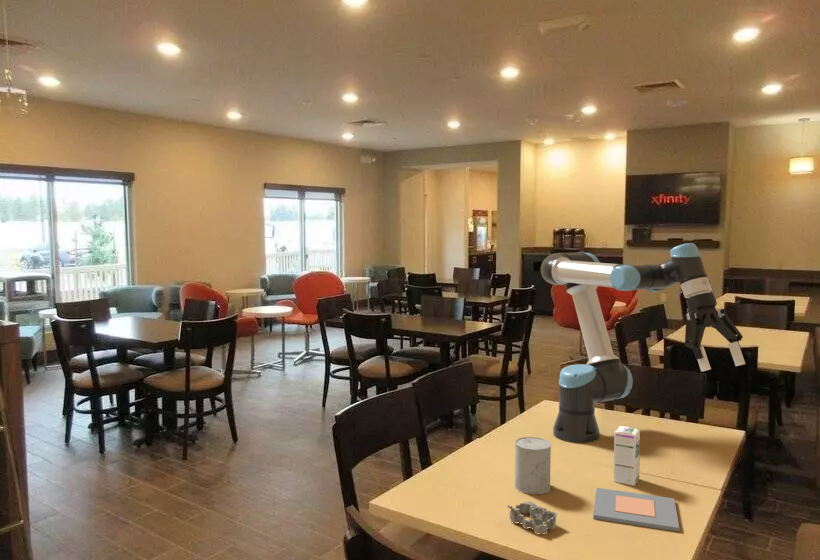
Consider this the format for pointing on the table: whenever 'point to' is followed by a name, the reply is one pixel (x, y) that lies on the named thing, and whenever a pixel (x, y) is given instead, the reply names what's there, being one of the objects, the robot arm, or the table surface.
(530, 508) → the grey irregular lumpy piece
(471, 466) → the table surface
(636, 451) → the syrup box
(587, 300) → the robot arm
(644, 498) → the board
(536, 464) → the grey marbled cylinder
